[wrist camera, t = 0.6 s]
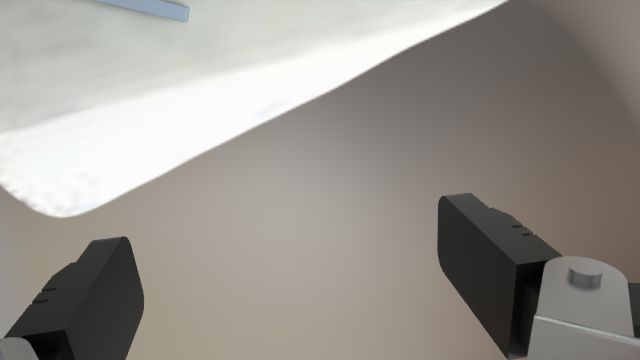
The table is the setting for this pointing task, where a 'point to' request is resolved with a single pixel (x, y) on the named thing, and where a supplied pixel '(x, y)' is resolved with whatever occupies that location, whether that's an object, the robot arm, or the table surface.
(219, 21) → the table surface
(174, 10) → the track
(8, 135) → the table surface
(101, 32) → the table surface
